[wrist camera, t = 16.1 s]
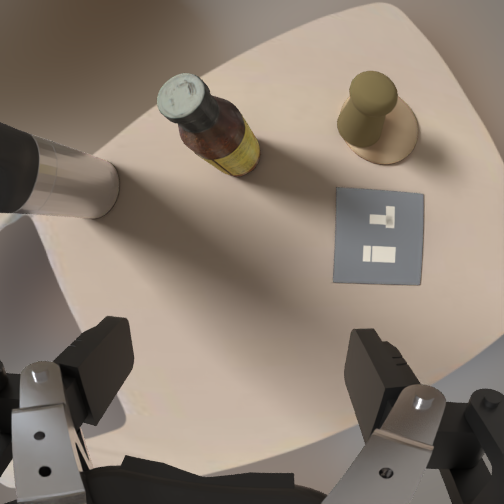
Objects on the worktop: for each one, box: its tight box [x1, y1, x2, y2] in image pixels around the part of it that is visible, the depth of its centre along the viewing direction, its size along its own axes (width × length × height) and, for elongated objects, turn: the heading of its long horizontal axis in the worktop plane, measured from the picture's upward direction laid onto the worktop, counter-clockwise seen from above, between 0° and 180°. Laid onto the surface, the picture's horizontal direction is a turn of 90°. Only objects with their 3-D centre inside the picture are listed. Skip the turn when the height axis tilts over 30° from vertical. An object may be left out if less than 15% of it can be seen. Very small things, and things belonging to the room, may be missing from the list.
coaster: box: [340, 96, 418, 164], centre depth 38 cm, size 11×11×1 cm
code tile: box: [333, 187, 423, 285], centre depth 39 cm, size 12×12×1 cm
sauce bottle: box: [157, 73, 260, 176], centre depth 31 cm, size 6×6×20 cm
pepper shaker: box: [337, 71, 398, 147], centre depth 32 cm, size 6×6×11 cm
